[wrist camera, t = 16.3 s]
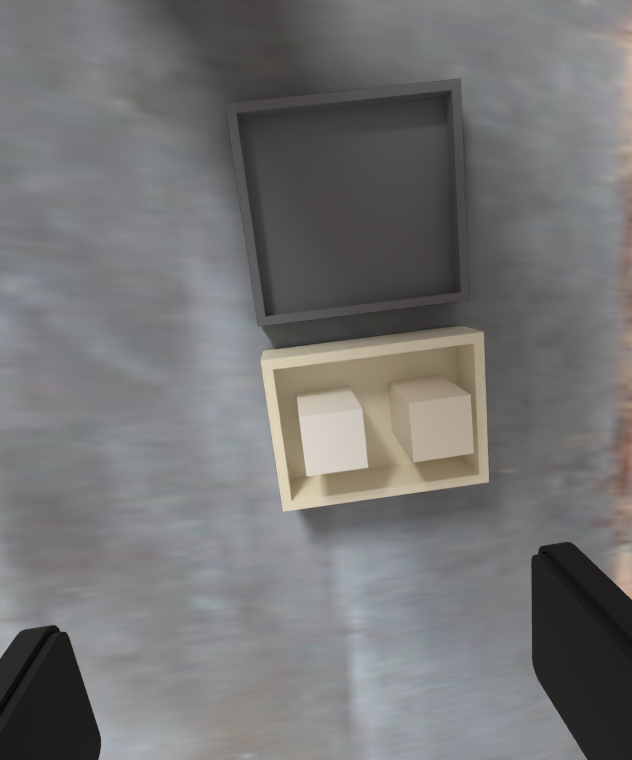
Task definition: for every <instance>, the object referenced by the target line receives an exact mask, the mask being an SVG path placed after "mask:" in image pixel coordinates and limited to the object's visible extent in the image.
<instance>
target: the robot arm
mask: <svg viewBox="0 0 632 760" xmlns="http://www.w3.org/2000/svg"><path fill="white" fill-rule="evenodd" d="M531 568H532V661H533V667H534V670H535V673H536V676H537V678H538V680H539V682H540V684H541V685H542V687H543V689H544V690H545V692H546V693H547V695H548V697H549V698H550V700H551V702H552V703H553V705H554V706H555V708H556V710H557V711H558V713H559V714H560V716H561V718H562V719H563V721H564V723H565V724H566V726H567V727H568V729H569V731H570V732H571V734H572V735H573V737H574V739H575V740H576V742H577V744H578V745H579V747H580V748H581V750H582V752H583V753H584V755H585V756H586V758H587V760H632V600H631V599H630V598H629V597H628V596H627V595H626V594H625V593H624V592H623V591H622V590H621V589H620V588H619V587H618V586H617V585H616V584H615V583H614V582H613V581H612V580H611V579H610V578H608V577H607V576H606V575H605V574H604V573H603V572H602V571H601V570H600V569H599V568H598V567H597V566H596V565H595V564H594V563H593V562H592V561H591V560H590V559H589V558H588V557H587V556H586V555H584V554H583V553H582V552H581V551H580V550H579V549H578V548H577V547H576V546H575V545H574V544H572V543H570V542H564V543H558V544H551V545H545V546H541V547H540V548H539V550H538V555H534V556H533V557H532V561H531ZM100 749H101V737H100V733H99V729H98V726H97V723H96V720H95V717H94V714H93V711H92V708H91V704H90V701H89V698H88V695H87V692H86V689H85V686H84V683H83V679H82V676H81V673H80V670H79V667H78V664H77V661H76V658H75V654H74V651H73V648H72V645H71V642H70V639H69V636H68V634H67V633H66V632H60V630H59V628H58V627H57V626H55V625H51V626H44V627H38V628H32V629H26V630H23V631H21V632H20V633H19V634H18V635H17V636H16V637H15V639H14V640H13V641H12V643H11V644H10V646H9V647H8V649H7V650H6V651H5V653H4V654H3V656H2V657H1V659H0V760H98V759H99V755H100Z"/></svg>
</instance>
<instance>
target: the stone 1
mask: <svg viewBox="0 0 632 760" xmlns="http://www.w3.org/2000/svg"><path fill="white" fill-rule="evenodd" d="M296 395H297V404H298V413H299V421H300V429H301V437H302V444H303V452H304V460H305V467H306V475H307V476H312V475H319V474H326V473H334V472H341V471H348V470H355V469H363V468H368V462H367V451H366V441H365V431H364V420H363V410H362V407H361V406H360V404H359V402H358V400H357V399H356V397H355V395H354V394H353V392H352V390H351V389H350V387H349V386H346V387H338V388H331V389H323V390H315V391H308V392H300V393H296Z"/></svg>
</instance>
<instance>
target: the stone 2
mask: <svg viewBox="0 0 632 760" xmlns="http://www.w3.org/2000/svg"><path fill="white" fill-rule="evenodd" d="M388 391H389V402H390V412H391V422H392V432H393V433H394V435H395V436H396V438H397V439H398V440H399V442H400V443H401V445H402V446H403V448H404V449H405V451H406V452H407V453H408V455H409V456H410V458H411V459H412V461H413V462H419V461H426V460H433V459H439V458H446V457H452V456H459V455H466V454H472V453H474V446H473V428H472V410H471V394H469V393H468V392H466V391H464V390H463V389H461V388H460V387H458V386H457V385H455V384H454V383H452V382H450V381H449V380H447V379H446V378H444V377H443V376H441V375H440V374H439V375H432V376H425V377H418V378H411V379H404V380H397V381H390V382H388Z"/></svg>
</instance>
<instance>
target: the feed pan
mask: <svg viewBox="0 0 632 760" xmlns="http://www.w3.org/2000/svg"><path fill="white" fill-rule="evenodd" d="M225 106H226V113H227V120H228V126H229V133H230V140H231V147H232V154H233V160H234V167H235V174H236V181H237V188H238V194H239V201H240V208H241V215H242V222H243V228H244V235H245V242H246V249H247V255H248V262H249V269H250V276H251V283H252V289H253V296H254V303H255V310H256V317H257V323H258V327H259V326H267V325H275V324H283V323H291V322H299V321H307V320H315V319H323V318H331V317H338V316H346V315H354V314H362V313H370V312H378V311H386V310H394V309H402V308H410V307H418V306H426V305H434V304H442V303H450V302H458V301H466V300H470V294H469V270H468V245H467V221H466V196H465V171H464V147H463V122H462V97H461V79H451V80H442V81H432V82H423V83H413V84H404V85H395V86H385V87H376V88H366V89H357V90H347V91H338V92H328V93H319V94H310V95H300V96H291V97H281V98H272V99H262V100H253V101H243V102H234V103H225Z"/></svg>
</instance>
